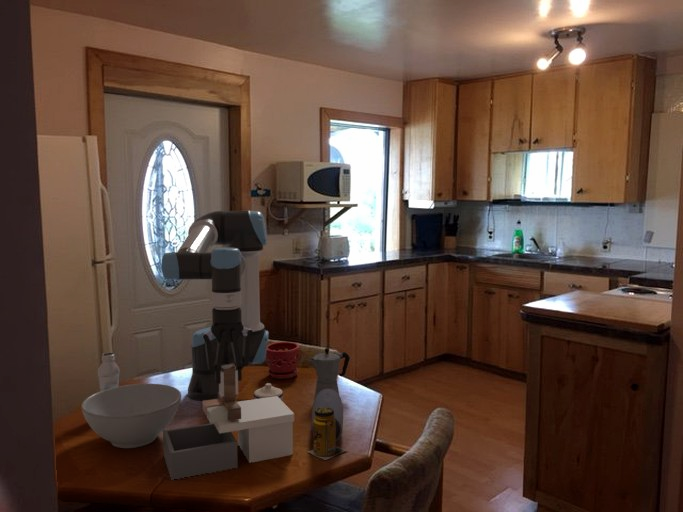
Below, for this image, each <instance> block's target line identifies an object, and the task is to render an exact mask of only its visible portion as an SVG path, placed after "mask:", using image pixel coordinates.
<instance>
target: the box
mask: <svg viewBox="0 0 683 512" xmlns="http://www.w3.org/2000/svg"><path fill="white" fill-rule="evenodd" d="M162 435H163V441H162V442H163V457H164V460H165V464H166V467H167V471H168V474H169V477H171V478H170V480H173V481H175V480H174V479H178V480H180V479H179V478H183V479H185V478H184V477H188V478H190V477H189V476H194V477H196V476H195V475H199V476H202V475H201V474H204V475H206V474H205V473H209V474H213V473H212V472H214V473H217V472H216V471H219V472H222V471H221V470H225V471H227V470H226V469H230V470H233V469H232V468H235V469H238V463H239V461H238V440H237V439H236V437H235V436H234V435H233V433H232V431H231V432H225V433H219V432H218V430H217V428H216V427H215V425H214V423H210V422H209V423H204V424H203V423H202V424H198V425H192V426H191V425H190V426H184V427H178V428H173V429H171V428H170V429H164V430H163V431H162Z"/></svg>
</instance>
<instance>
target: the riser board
mask: <svg viewBox="0 0 683 512" xmlns="http://www.w3.org/2000/svg"><path fill="white" fill-rule="evenodd" d="M236 402H237V403H238V404H239V406H240V407H241V419H237V420H231V421H230V420H229V419H228V421H222V422H216V423H214V425H215V427H216V428H217V430H218V432H219V433H225V432H231V433H232V432H237V433H238V434H237V439H238V440H237V446H240V447H239V448H240V450H241V452H242V451H243V452H242V454H243V455H244V456H246V457H245V458H246V460H247V461H248V463H250V464H251V462H252V463H257V462H262V461H266V460H272V459H278V458H283V457H287V456H292V455H293V454H294V445H293V444H294V438H293V434H294V433H293V429H294V427H293V426H294V425H293V422H295V413H294V411H292V409H291V408H289V407H288V406H287V405H286V404H285V402H284V401H283V399H282V400H281V399H280V398H279V397H278V396H274V397H267V398H260V399H255V398H253V399H247V400H241V401H236Z"/></svg>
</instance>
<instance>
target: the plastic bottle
mask: <svg viewBox="0 0 683 512" xmlns="http://www.w3.org/2000/svg"><path fill="white" fill-rule="evenodd" d="M115 358H116V356H115V353H114V352H106V353H102V354H101V362H102V363H101V364H100V365H99V367H98V369H97V376H98V383H99V388H100V389H99V390H100V391H103V390H106V389H110V388H114V387H119V386H120V385H119V384H120V383H119V381H120V380H119V379H120V367H119V366H118V364H117V363H116V362H115V360H116V359H115Z"/></svg>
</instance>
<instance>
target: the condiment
mask: <svg viewBox="0 0 683 512" xmlns="http://www.w3.org/2000/svg"><path fill="white" fill-rule="evenodd" d="M313 425H314V436H313V449H310V450H308V451H307V453H308V454H311V455H313V456H314V457H317V458H318V459H321V460H324V461H327V460H329V459H331V458H334V457H336V456H338V455H339V454H343V453H345V452H346V451H348V449H346V448H342V447H340V446H338V445H336V443H337V441H336V421H335V419H334V410H333V409H332V408H328V407H321V408H318V409H316V410H315V419H314V423H313Z"/></svg>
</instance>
